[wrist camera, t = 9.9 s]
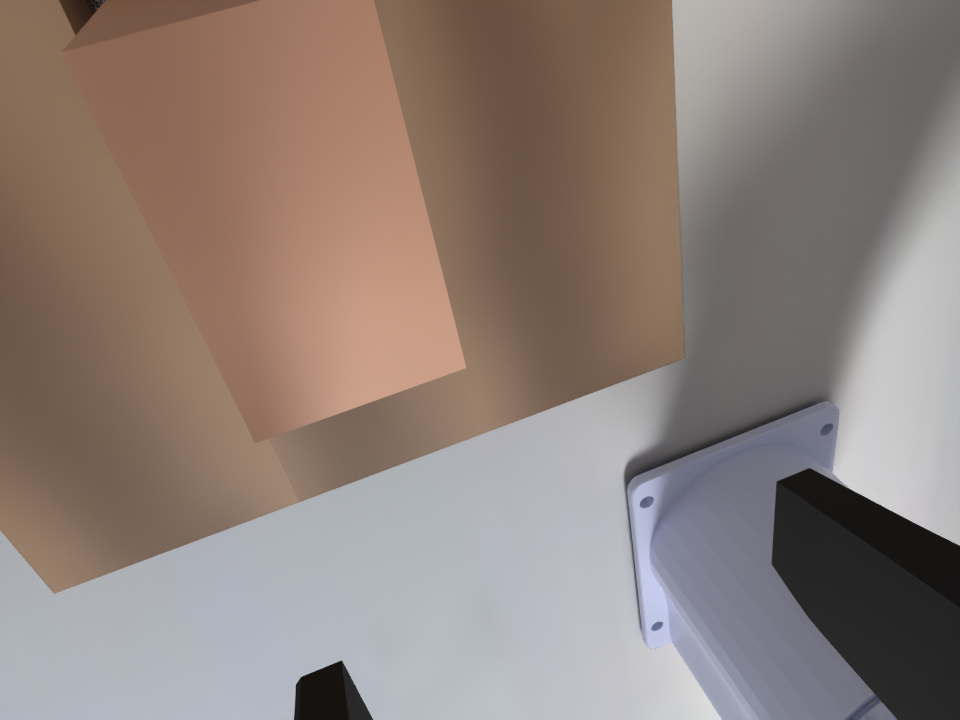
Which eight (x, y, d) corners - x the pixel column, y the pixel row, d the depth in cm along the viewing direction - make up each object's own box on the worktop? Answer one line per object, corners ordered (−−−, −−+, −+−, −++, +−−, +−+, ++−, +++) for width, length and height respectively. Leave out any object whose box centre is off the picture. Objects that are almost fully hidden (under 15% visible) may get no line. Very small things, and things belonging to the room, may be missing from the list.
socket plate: (572, -511, 12) (649, -594, 10) (637, 314, 21) (684, 358, 19) (-568, -326, 9) (-775, -387, 7) (68, 518, 19) (53, 593, 17)
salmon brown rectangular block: (285, -63, 14) (367, -28, 7) (360, 186, 17) (467, 367, 10) (124, -22, 13) (60, 52, 7) (230, 226, 16) (255, 443, 10)
